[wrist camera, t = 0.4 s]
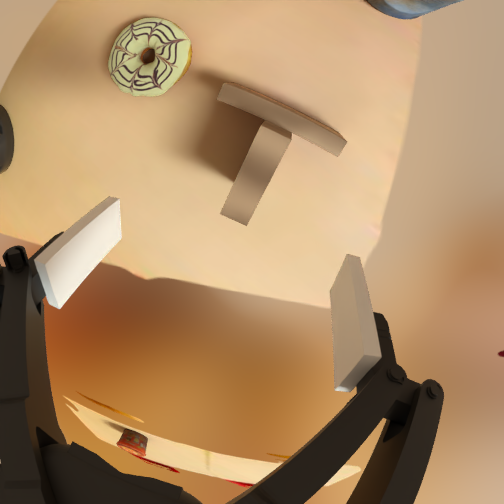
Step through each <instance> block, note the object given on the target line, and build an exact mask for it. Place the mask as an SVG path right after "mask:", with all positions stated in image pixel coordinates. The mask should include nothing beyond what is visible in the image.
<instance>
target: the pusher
mask: <svg viewBox="0 0 504 504" xmlns="http://www.w3.org/2000/svg"><path fill="white" fill-rule="evenodd" d="M216 100H219V101H221V102H224V103H226V104H229V105H231V106H234V107H236V108H239V109H241V110H243V111H246V112H248V113H250V114H253V115H255V116H257V117H259V118H262V119H264V120H265V121H264V122H263V123H262V125H261V126H260V128H259V130H258V132H257V134H256V137H255V139H254V141H253V143H252V145H251V147H250V149H249V151H248V153H247V156H246V158H245V160H244V162H243V164H242V166H241V168H240V171H239V173H238V175H237V177H236V179H235V181H234V184H233V186H232V188H231V190H230V193H229V195H228V197H227V199H226V201H225V204H224V206H223V208H222V211H221V213H220V214H221V215H224V216H226V217H228V218H230V219H232V220H235V221H237V222H239V223H241V224H243V225H246V226H247V224H248V222H249V220H250V218H251V217H252V215H253V213H254V211H255V209H256V207H257V205H258V203H259V201H260V199H261V197H262V195H263V193H264V191H265V189H266V187H267V186H268V184H269V182H270V180H271V178H272V176H273V174H274V172H275V170H276V168H277V166H278V164H279V163H280V161H281V159H282V157H283V155H284V153H285V151H286V149H287V147H288V145H289V144H290V142H291V137H292V133H293V134H295V135H297V136H299V137H301V138H303V139H305V140H307V141H309V142H311V143H313V144H315V145H317V146H318V147H320V148H322V149H324V150H326V151H328V152H329V153H331V154H333V155H335V156H337V157H338V156H339V155H340V153H341V151H342V150H343V148H344V146H345V145H346V143H347V141H346V140H345V139H344V138H343V136H342V135H341V134H340V133H338V132H336V131H334V130H333V129H331V128H329V127H327V126H325V125H324V124H322V123H320V122H318V121H316V120H314V119H312V118H310V117H309V116H307V115H305V114H303V113H301V112H299V111H297V110H295V109H293V108H291V107H288V106H286V105H284V104H282V103H280V102H278V101H276V100H273V99H271V98H269V97H267V96H264V95H262V94H260V93H258V92H255V91H253V90H250V89H248V88H246V87H243V86H241V85H238V84H236V83H223V85H222V88H221V90H220V92H219V94H218V97H217V99H216Z"/></svg>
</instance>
